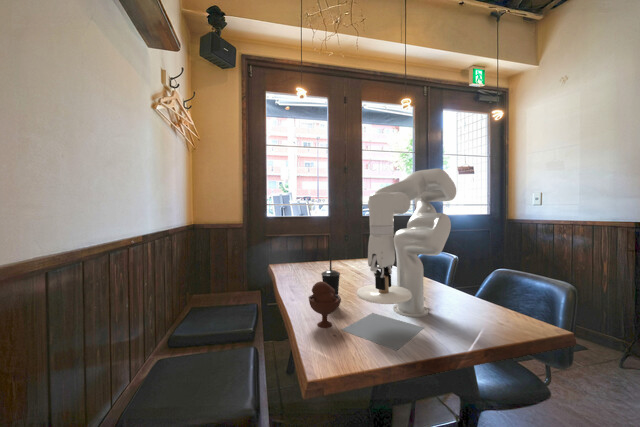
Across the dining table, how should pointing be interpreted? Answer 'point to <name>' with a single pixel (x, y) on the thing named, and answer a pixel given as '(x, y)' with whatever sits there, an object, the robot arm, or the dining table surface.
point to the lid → (384, 294)
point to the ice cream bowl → (324, 302)
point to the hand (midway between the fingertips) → (383, 287)
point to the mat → (383, 330)
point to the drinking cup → (331, 278)
